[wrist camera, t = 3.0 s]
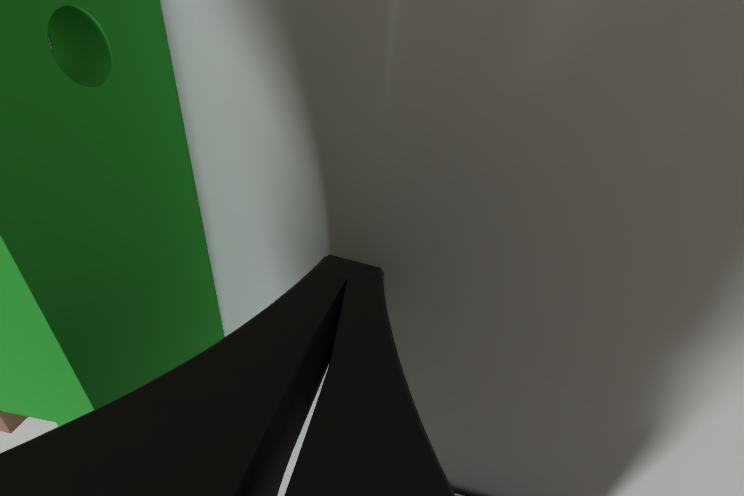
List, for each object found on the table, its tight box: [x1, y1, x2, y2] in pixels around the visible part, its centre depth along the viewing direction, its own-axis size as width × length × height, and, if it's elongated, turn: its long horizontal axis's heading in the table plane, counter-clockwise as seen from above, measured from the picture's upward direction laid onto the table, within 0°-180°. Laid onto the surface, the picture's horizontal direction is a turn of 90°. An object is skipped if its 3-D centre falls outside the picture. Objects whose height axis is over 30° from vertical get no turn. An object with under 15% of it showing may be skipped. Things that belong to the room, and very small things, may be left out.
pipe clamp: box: [0, 0, 224, 426], centre depth 8 cm, size 11×4×5 cm, turn 176°
